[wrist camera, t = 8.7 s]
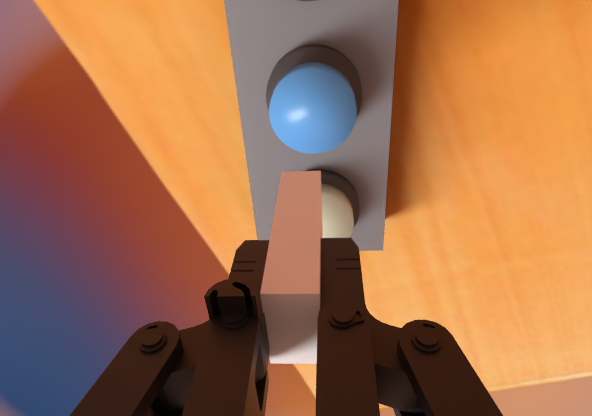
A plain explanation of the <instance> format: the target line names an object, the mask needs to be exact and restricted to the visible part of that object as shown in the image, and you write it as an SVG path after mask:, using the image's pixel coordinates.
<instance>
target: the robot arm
mask: <svg viewBox="0 0 592 416" xmlns="http://www.w3.org/2000/svg"><path fill="white" fill-rule="evenodd" d="M205 301H206V305H207V309H208V314H209V318H210V320H208V321H206V322H205V323H203V324H200V325H198V326H195V327H191V328H187V329H183V330H180V331H179V330H178V329H177V328H176V327H175V325H173V324H171V323H169V322H160V321H158V322H153V323H150V324H147V325H145V326H143V327H141V328H140V329H138V330H137V331H136V332H135V333H134V334H133V335H132V336H131V337H130V338H129V339H128V341H127V342H126V343H125V345H124V346H123V348H122V349H121V350H120V351H119V352H118V354H117V355H116V356H115V358H114V359H113V360H112V362H111V363H110V364H109V366H108V367H107V368H106V369H105V371H104V372H103V373H102V375H101V376H100V377H99V378H98V380H97V381H96V382H95V384H94V385H93V386H92V387H91V389H90V390H89V391H88V393H87V394H86V395H85V397H84V398H83V399H82V400H81V402H80V403H79V404H78V406H77V407H76V408H75V409H74V411H73V412H72V413H71V415H70V416H265V409H266V400H267V392H268V384H269V380H268V371H267V365H268V358H270V363H296V364H317V375H316V416H380V411H379V403H380V404H383V405H386V406H389V407H392V408H393V409H394V412H395V415H396V416H503V415H502V413H501V412H500V410H499V409H498V407H497V405H496V404H495V402H494V401H493V399H492V398H491V396H490V394H489V393H488V391H487V390H486V388H485V386H484V385H483V383H482V382H481V380H480V378H479V377H478V375H477V374H476V372H475V371H474V369H473V367H472V366H471V364H470V363H469V361H468V360H467V358H466V356H465V355H464V353H463V352H462V350H461V348H460V347H459V345H458V344H457V342H456V341H455V339H454V337H453V336H452V335H451V333H450V332H449V331H448V330H447V329H446V328H445V327H443V326H441V325H440V324H438V323H436V322H432V321H428V320H414V321H411V322H409V323H406V324H405V325H404V326H403V327H402V328H398V327H395V326H391V325H388V324H385V323H382V322H380V321H379V320H377V319H375V318H374V317H373V316H372V315H371V314H370V313H369V311H368V310H367V308H366V305H365V299H364V291H363V282H362V273H361V264H360V255H359V247H358V246H357V245H356V243H355V242H354V241H353V239H352V238H323V223H322V194H321V171H293V172H281V178H280V183H279V189H278V195H277V201H276V206H275V212H274V218H273V223H272V229H271V235H270V240H245V241H244V242H243V243H242V244H241V246H240V247H239V248H238V249H237V250H236V253H235V257H234V260H233V264H232V268H231V272H230V275H229V279H228V280H223V281H221V282H218V283H216V284H215V285H214V286H212V287H211V288H210V289H209V290H208V291H207V293H206V294H205Z"/></svg>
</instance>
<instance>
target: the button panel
mask: <svg viewBox="0 0 592 416" xmlns="http://www.w3.org/2000/svg"><path fill="white" fill-rule="evenodd" d="M398 2H399V0H224V3H225V10H226V17H227V24H228V31H229V39H230V46H231V53H232V60H233V67H234V74H235V81H236V89H237V96H238V103H239V110H240V117H241V124H242V131H243V139H244V146H245V153H246V160H247V167H248V174H249V181H250V189H251V196H252V203H253V210H254V217H255V224H256V231H257V239H258V240H270V235H271V229H272V223H273V218H274V212H275V206H276V201H277V195H278V189H279V183H280V178H281V172H293V171H321V183H323V184H328V185H331V186H334V187H336V188H338V189H340V190H341V191H342V192H343V193H345V194H346V196H347V197H348V198H349V200H350V202H351V204H352V208H353V218H354V228H353V232H352V234H351V236H350V238H352V239H353V241H354V242H355V243H356V245H357V246H358V247H359V251H368V250H383V241H384V225H385V209H386V193H387V177H388V161H389V145H390V130H391V114H392V98H393V82H394V66H395V50H396V34H397V18H398ZM311 62H315V63H323V64H327V65H329V66H332V67H334V68H335V69H337V70H339V71H340V72H341V73H342V74H343V75H344V76H345V77H346V78H347V79H348V81H349V82H350V84H351V86H352V89H353V91H354V96H355V101H356V108H357V115H356V121H355V125H354V128H353V130H352V132H351V133H350V135H349V136H348V138H347V139H346V140H345V141H344V142H343V143H342V144H340V145H339V146H337V147H336V148H334V149H332V150H330V151H327V152H323V153H317V154H308V153H302V152H299V151H296V150H294V149H292V148H290V147H288V146H287V145H285V144H284V143H283V142H282V141H281V140H280V139H279V138H278V137H277V135H276V134H275V132H274V130H273V128H272V126H271V122H270V118H269V106H270V101H271V98H272V95H273V91H274V89H275V86H276V84H277V83H278V81H279V80H280V78H281V77H282V76H283V75H284V74H285V73H286V72H287V71H289V70H290V69H292V68H293V67H295V66H298V65H300V64H304V63H311Z"/></svg>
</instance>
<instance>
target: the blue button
mask: <svg viewBox="0 0 592 416" xmlns="http://www.w3.org/2000/svg"><path fill="white" fill-rule="evenodd" d="M356 115H357V108H356V101H355V96H354V91H353V89H352V86H351V84H350V82H349V81H348V79H347V78H346V77H345V76H344V75H343V74H342V73H341V72H340V71H339V70H337V69H335V68H334V67H332V66H329V65H327V64H323V63H315V62H311V63H304V64H300V65H298V66H295V67H293V68H292V69H290V70H289V71H287V72H286V73H285V74H284V75H283V76H282V77H281V78H280V80H279V81H278V83H277V84H276V86H275V89H274V91H273V95H272V98H271V101H270V106H269V118H270V122H271V126H272V128H273V130H274V132H275V134H276V135H277V137H278V138H279V139H280V140H281V141H282V142H283V143H284V144H285V145H287V146H288V147H290V148H292V149H294V150H296V151H299V152H302V153H308V154H317V153H323V152H327V151H330V150H332V149H334V148H336V147H337V146H339V145H340V144H342V143H343V142H344V141H345V140H346V139H347V138H348V136H349V135H350V133H351V132H352V130H353V128H354V125H355V121H356Z"/></svg>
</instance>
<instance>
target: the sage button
mask: <svg viewBox="0 0 592 416" xmlns="http://www.w3.org/2000/svg"><path fill="white" fill-rule="evenodd" d="M321 194H322V223H323V238H350V236H351V234H352V232H353V228H354V218H353V208H352V204H351V202H350V200H349V198H348V197H347V196H346V194H345V193H343V192H342V191H341V190H340V189H338V188H336V187H334V186H331V185H328V184H323V183H321Z"/></svg>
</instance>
